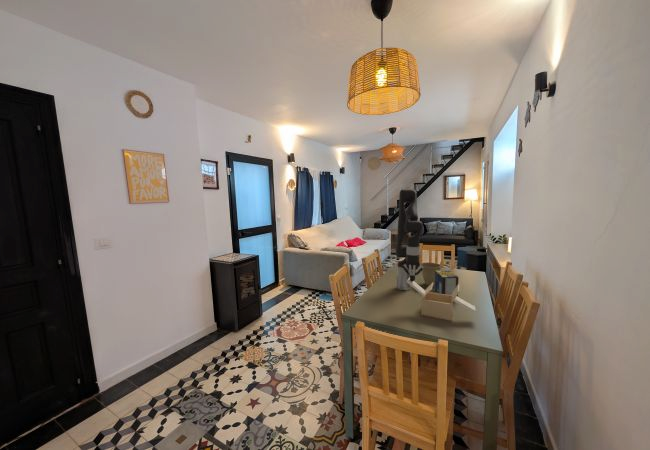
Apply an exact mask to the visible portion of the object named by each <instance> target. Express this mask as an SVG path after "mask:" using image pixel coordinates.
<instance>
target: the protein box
mask: <svg viewBox="0 0 650 450" xmlns="http://www.w3.org/2000/svg"><path fill="white" fill-rule="evenodd" d="M459 279H460V277H459V276H458V275H457V274H455V273H454V272H452V271H451V270H440V271H436V270H435V286H434V292H435V293H439V294H445V295H452V293H453V291H454V290H455V288H456V287H457V285H458V284H459ZM457 297H459V294H458V295H457Z"/></svg>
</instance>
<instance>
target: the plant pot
mask: <svg viewBox="0 0 650 450" xmlns="http://www.w3.org/2000/svg"><path fill="white" fill-rule="evenodd" d="M420 265H421V266H422V267H424V268H423V270H422V271H421V275H422V277H423V278H422V279H423V281H424V285H426V286H427V287H429V286H430V285H431V283H432V282H433V287H435V270H436V271H441V270H442V269H441V268H442V265H441V264H440V263H437V262H421V263H420Z"/></svg>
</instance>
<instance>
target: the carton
mask: <svg viewBox="0 0 650 450" xmlns="http://www.w3.org/2000/svg"><path fill="white" fill-rule="evenodd" d="M453 304H454V301H453V302H452V295H445V294H439V293H436V292H431V291H430V292H429V293H428V294H427V295H426V296H425V297H424V298H423V297H422V298H421V316H425V317H428V318H434V319H435V318H436V319H440V320H445V321H450V322H452V321H453V313H454V312H453V309H454V308H453V307H454V305H453Z"/></svg>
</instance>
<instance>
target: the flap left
mask: <svg viewBox="0 0 650 450" xmlns="http://www.w3.org/2000/svg"><path fill="white" fill-rule="evenodd" d="M406 282H407V283H408V284H409V285H410V287H412V288H413V289H414V290H415V291H416V292H418V293H419V294H420V295H421V296H422V298H424V297H425V296H426V295H427V294H428V293H429V292H431V291H432V290H433V287H434V286H433V282H432V283H431V285H430V286H427V287H426V289H424V288H423V287H421V286H420V285H419V284H418V283H417V282H416V281H415V280H414V281H411V280H410V277H409V278H408V280H407V281H406Z"/></svg>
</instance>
